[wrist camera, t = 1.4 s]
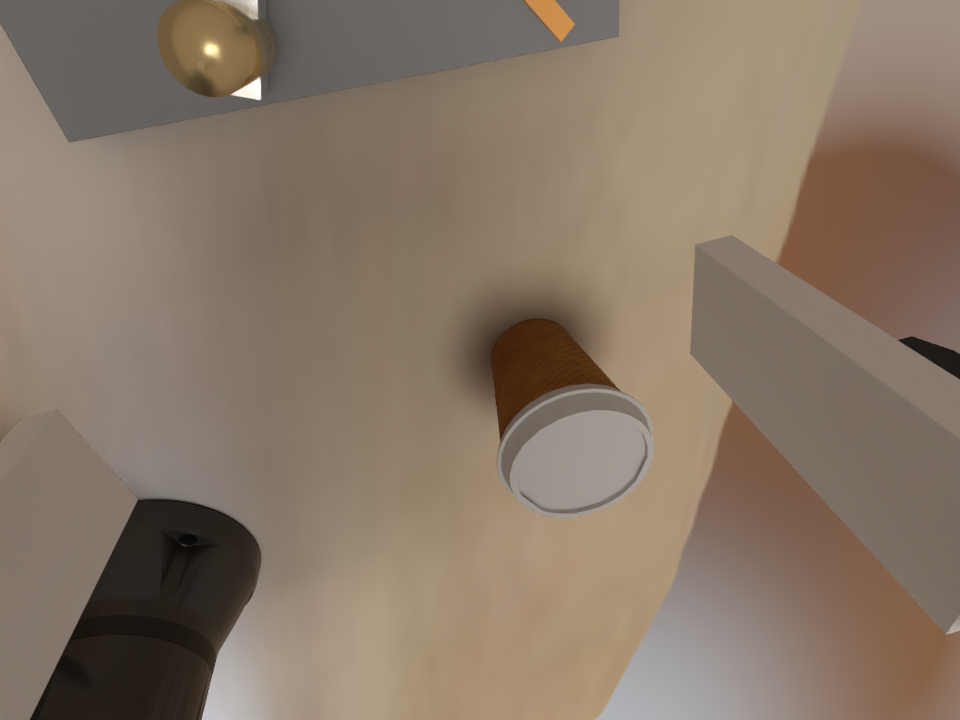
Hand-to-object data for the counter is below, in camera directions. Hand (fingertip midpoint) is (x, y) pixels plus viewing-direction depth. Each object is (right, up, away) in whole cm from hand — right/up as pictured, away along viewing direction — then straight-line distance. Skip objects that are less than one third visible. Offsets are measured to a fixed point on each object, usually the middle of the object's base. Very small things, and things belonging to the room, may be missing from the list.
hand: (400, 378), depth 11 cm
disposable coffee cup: (+6, +1, +29) cm, 29 cm away
